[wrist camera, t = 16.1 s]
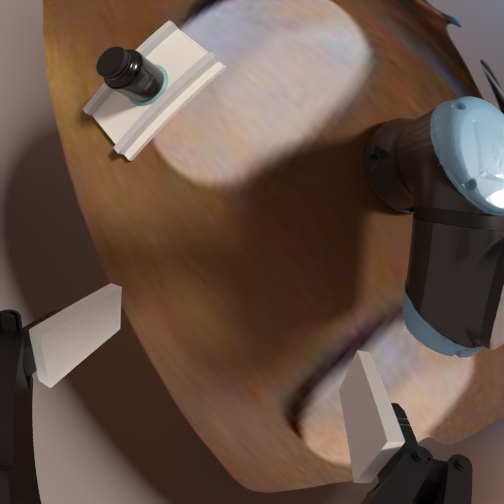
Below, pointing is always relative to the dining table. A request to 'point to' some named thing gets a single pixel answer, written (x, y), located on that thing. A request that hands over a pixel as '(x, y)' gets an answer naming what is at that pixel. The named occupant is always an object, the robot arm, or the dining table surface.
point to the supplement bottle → (130, 73)
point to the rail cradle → (166, 101)
